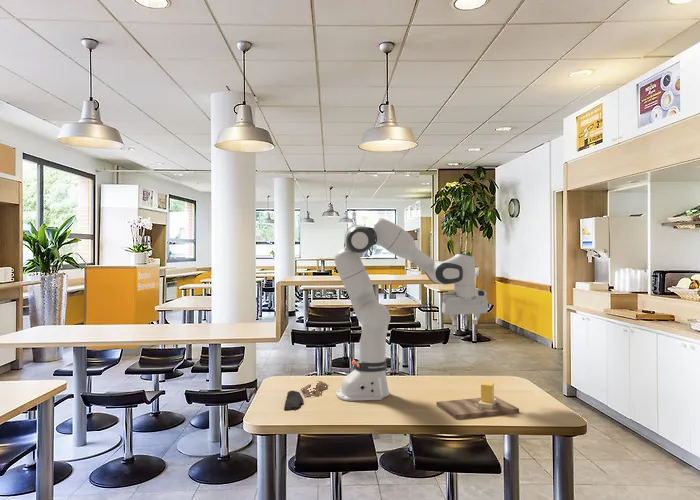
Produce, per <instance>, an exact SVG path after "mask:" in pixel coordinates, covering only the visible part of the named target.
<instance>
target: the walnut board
mask: <svg viewBox="0 0 700 500" xmlns="http://www.w3.org/2000/svg"><path fill="white" fill-rule="evenodd" d="M494 398H497V403H496V404H495V405H494V407H493V408H492V409H487V408H480V407H478V403H479V401H480V400H481V397H475V398H462V399H452V400H444V401H443V400H441V401H436V404H435V405H436V407H438V408H439V409H440V410H442V411H443V412H445V414H448V415H449V416H450V417H452V418H453V419H455V420H459V419H460V420H461V419H462V420H463V419H470V418H482V417H490V416H491V417H492V416H501V415H511V414H518V413H519V414H520V408H518V407H517V406H515V405H513V404H511V403H509V402H507V401H505V400H503V399H501V398H500V397H497V396H496V395H494Z"/></svg>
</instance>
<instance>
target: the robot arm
mask: <svg viewBox="0 0 700 500" xmlns="http://www.w3.org/2000/svg"><path fill="white" fill-rule="evenodd" d="M375 245H379V246H381V247H382V248H383V249H385V250H386V251H387V252H388V253H389V252H390V253H391V254H393V255H394V256H396V257H399V258H402V259H405V260H407V261H409V262H410V263H412V264H414V265H415V266H417V267H418V268H419V269H420V270H422V271H423V272H424V273H425V274H426V276H427V277H428V279H429V280H430V281H431V282H432V283H434V284H438V285H439V284H440V285H446V286H447V285H451V284H454V285H453V287H454V291H451V292H445V293H444V294H442V302H441V303H442V305H441V313H442V314H444V315H447V316H448V315H449V318H450V319H451V322H452V326H458V321H457V320H456V315H472V314H473V315H474V319H472V324H473V325H478V321H479V319H480V317H481V314H487V313H488V311H489V301H488V298H487V291H486V290H484V289H480V288H476V286H477V285H476V281H475V278H476V262H475V258H474V256H473V255H471V254H466V253H456V254H455V255H454V256H452V257H450V258H449V259H446V260H444V261H441V260H436V259H433V258H431V257H430V256H428V255H427V254H425V253H424V252H422V250H420V249H419V248H418V247H417V246H416V243H415V239H414V237H413V236H412V235H411V234H410V233H409V232H408V231H407V230H405V229H404V228H402V227H401V226H399V225H397V224H396V223H394V222H392V221H390V220H388V219H385V218H383V217H380V218H378V219H377V218H376V219H375V220H374V221H373V222H372V224H371V225H370V226H364V225H361V224H355V225H352V226H349V228H348V229H347V230H346V232H345V234H344V244H343V248H342V249H340V250H338V251H337V253H336V254H335V255H334V264H335V268H336V270H337V273H338V277H340V280H341V282H342V284H343V286H344V289H345V290H346V293H347V294H348V297H349V300H350V302H351V306H352V308H353V311H354V313H355V316H356V318H357V320H358V322H359V323H361V324H362V329H361V333H360V334H361V336H360V339H359V344H358V345H359V347H358V349H359V353H358V355H359V357H358V358H359V359H358V360H357V361H356V360H355V359H353V360H352V361H351V365H353V366H354V369H353V370H352V371H351V372H350V373H349V374H348V375H346V376H344V377H343V379H342V382H341V388H339V389H336V391H335V394H336V397H337V398H338V399H340V400H341V401H345V402H348V401H350V402H351V401H352V402H353V401H355V402H356V401H379V400H380V401H381V400H383V399H384V398H385V397H389V396H390V391H389V386H388V381H387V371H388V366H387V365H388V364H387V359H386V343H387V337H388V336H387V334H388V328H389V324H390V322H391V313H390V311H389V309H388V308H387V307H386V306H385V305H384V304H382V303H380V302H379V300H377V296H376V294H375V291H374V290H375V289H374V285H373V283H372V280H371V278H370V276H369V274H368V272H367V270H366V268H365V266H364V263H363V261H362V258H361V254H362V253H365V252H367V251H368V250H370V249H371V248H372V247H373V246H375Z"/></svg>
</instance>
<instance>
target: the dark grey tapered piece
mask: <svg viewBox="0 0 700 500" xmlns="http://www.w3.org/2000/svg"><path fill="white" fill-rule="evenodd" d="M285 398H286V399H285V403H284V408H283V410H284V411H286V412H288V411H292V410H293V411H295V412H296V411H297V410H298V409H299V407H300V405H305V402H304V398H303V396H302V395H301V393H300V391H296V390H289V391H288V392H287V393H286V397H285Z"/></svg>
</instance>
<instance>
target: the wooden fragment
mask: <svg viewBox="0 0 700 500" xmlns="http://www.w3.org/2000/svg"><path fill="white" fill-rule="evenodd" d="M317 382H319V383H317V385H316V388H313V389H315V390H316V391H315V390H313V391H311V392H309V390H307V389H308V388H310V387H311V384H312V383H311V384H308V385H306V386H304V387H301V389H300V390H301V392H302V393H303V396H304V398H312V397H311V396H315V397H319V395H321V394H323V392H322V390H323V391H325V390H327V389H328V386H329V384H327V383H326V382H323V381H321V380H318V381H317ZM325 386H326V387H325ZM302 389H303V390H302ZM324 389H325V390H324ZM310 390H311V389H310ZM320 392H321V393H320ZM310 393H312V394H310ZM321 396H322V395H321Z"/></svg>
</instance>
